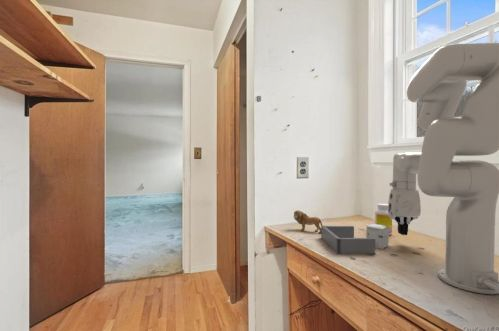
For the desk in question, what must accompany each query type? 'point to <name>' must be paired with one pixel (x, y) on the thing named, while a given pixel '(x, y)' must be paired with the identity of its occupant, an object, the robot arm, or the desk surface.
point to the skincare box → (378, 234)
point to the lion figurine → (307, 220)
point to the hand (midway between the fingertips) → (402, 233)
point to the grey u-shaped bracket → (346, 240)
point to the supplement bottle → (383, 217)
